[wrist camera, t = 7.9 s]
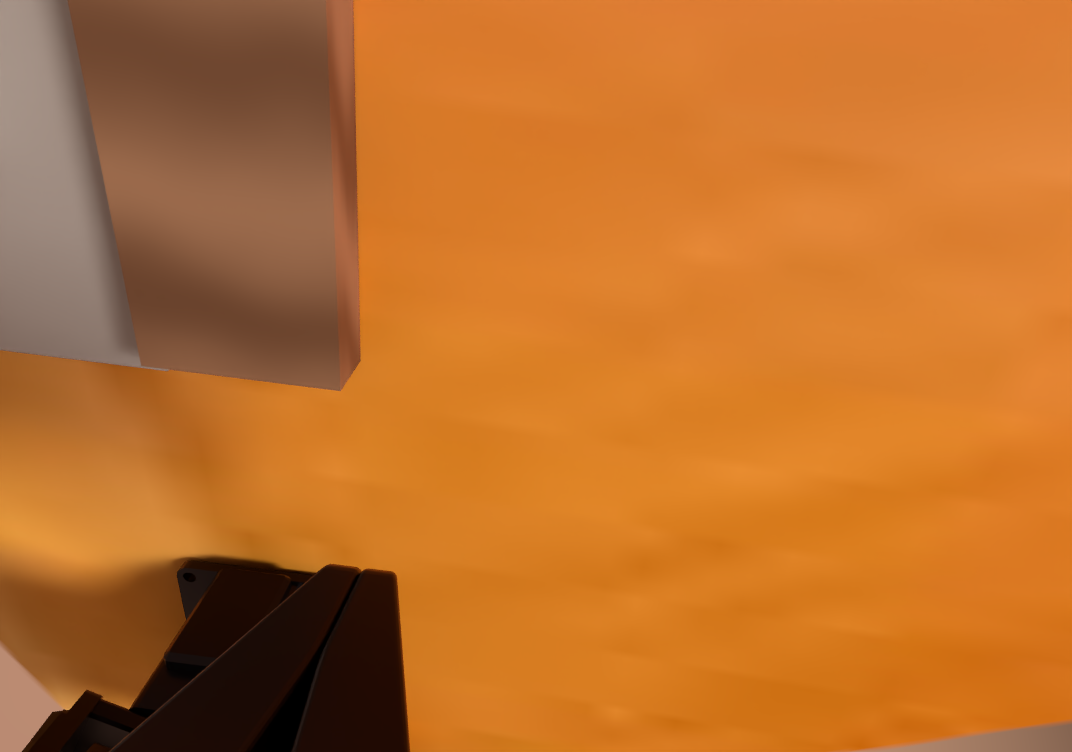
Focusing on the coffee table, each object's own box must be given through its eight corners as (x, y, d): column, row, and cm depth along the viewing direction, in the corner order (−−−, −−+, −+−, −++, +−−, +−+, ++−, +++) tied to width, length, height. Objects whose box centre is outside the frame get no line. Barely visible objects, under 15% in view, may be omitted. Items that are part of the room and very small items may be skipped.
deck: (360, 360, 21) (340, 391, 20) (177, 337, 21) (141, 365, 20) (346, -316, 14) (312, -367, 12) (62, -352, 14) (-15, -408, 12)
